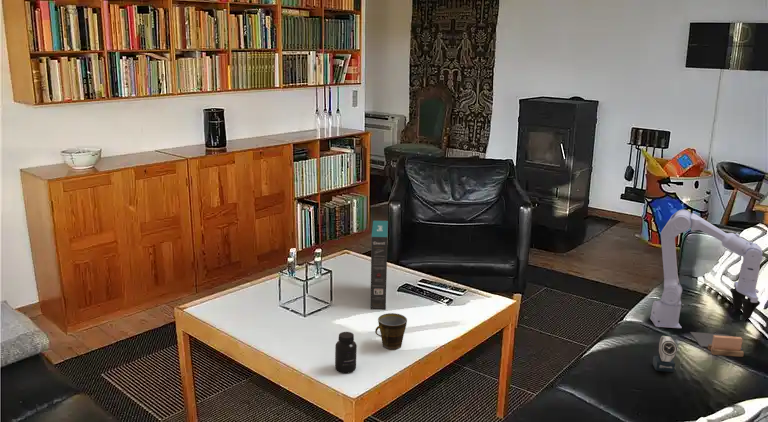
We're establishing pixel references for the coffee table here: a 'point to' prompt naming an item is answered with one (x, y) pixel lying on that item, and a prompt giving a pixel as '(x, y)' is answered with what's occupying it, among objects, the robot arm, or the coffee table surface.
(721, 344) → the tile
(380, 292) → the cake mix box
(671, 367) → the watch
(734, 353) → the rack
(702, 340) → the mat
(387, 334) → the ceramic cup
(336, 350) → the supplement bottle
